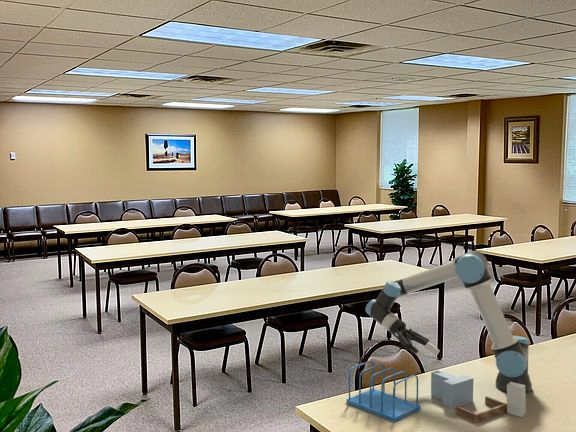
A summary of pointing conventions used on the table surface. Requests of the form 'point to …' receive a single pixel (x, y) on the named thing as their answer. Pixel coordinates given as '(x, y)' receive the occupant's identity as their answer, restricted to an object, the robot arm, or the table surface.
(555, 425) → the table surface
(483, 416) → the brown wooden tray
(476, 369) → the table surface
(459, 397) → the grey l-shaped block
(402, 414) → the file sorter
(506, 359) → the robot arm
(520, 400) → the skincare box
